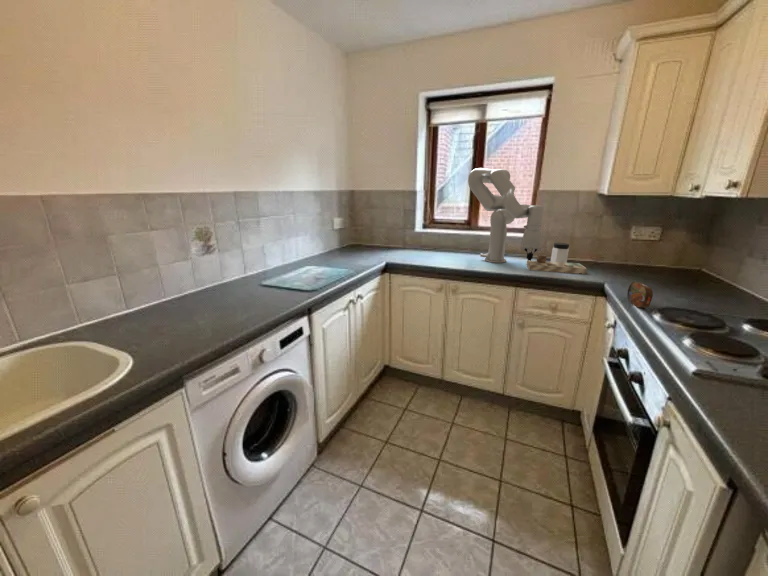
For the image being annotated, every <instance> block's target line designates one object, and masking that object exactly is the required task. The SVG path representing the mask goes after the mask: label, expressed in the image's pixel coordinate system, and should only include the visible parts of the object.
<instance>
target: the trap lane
mask: <svg viewBox="0 0 768 576" xmlns="http://www.w3.org/2000/svg"><path fill="white" fill-rule="evenodd" d="M525 263H526V264H525V265H527V266H526V267H527V268H528V270H529V271H533V270H537V271H538V272H549V271H551V273H564V272H565V273H567V274H568V273H569V274H579V273H582V275H585V274H586V273H587V270H588V269H587V267H586V266H584V265H583V264H581V263H579V262H578V263H577V262H567V263H565V262H550V261H546V262H545V263H538V262H537V260H532V259H531V260H526V262H525ZM537 271H536V272H537ZM586 275H587V274H586Z"/></svg>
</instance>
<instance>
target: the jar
mask: <svg viewBox="0 0 768 576" xmlns="http://www.w3.org/2000/svg"><path fill="white" fill-rule="evenodd" d="M569 247H570V244H569V243H566V242H554V243H553V247H552V251H551V254H550V255H551V256H550V261H549V262H565V263H568V257H569V251H570V248H569Z"/></svg>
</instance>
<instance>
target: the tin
mask: <svg viewBox="0 0 768 576" xmlns="http://www.w3.org/2000/svg"><path fill="white" fill-rule="evenodd" d="M626 295H627V296H626V297H627V300H628V302H629V303H630V304H632V305H634V307H636V308H640V309H647V308H648V307H649V306H650V305H651V303H652V299H653V297H654V292H653V289H652V287H650V286H648V285H646V284H644V283H642V282H639V281H632V282H631V283H630V284H629V287H628V290H627V294H626Z"/></svg>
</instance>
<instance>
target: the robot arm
mask: <svg viewBox="0 0 768 576" xmlns="http://www.w3.org/2000/svg"><path fill="white" fill-rule="evenodd" d="M467 183H468V187H469V189H470V190H471V192H472V193H473V196H475V197H476V199H477V200H478V202H479V203H480V204H481V206H482V207H483V209H484V210H485V211H487V212H492V213H491V215H490V220H489V221H490V230H489V231H490V232H489V243H488V244H489V245H488V252H487V253H480V255H479V256H480V257H481V258H484V261H485V262H488V263H489V262H490V263H493V264H495V263H497V264H503V263H506V262H507V259H506V258H505V251H506V243H507V235H508V234H507V233H508V227H507V225H509V224H511V223H513V222H514V221H515V219H525V218H527V219H526V221H527V222H526V224H525V225H523V229H525V230H524V231H523V235H522V240H521V246H520V249H521V250H522V251H525V252H526V259H527V260H531V261H532V260H533V257H534V254H535V253H536V252H537V251H541V250H542V245H543V230H542V223H543V216H544V210H545V209H544V206H543V205H539V204H537V205H536V204H534V205H531V204H524V203H523V204H520V203H519V201H518V200H517V198H516V196H515V191H516V186H515V185H514V184H513V183H512V181H511V173H510V171H508V170H507V169H505V168H504V169H503V168H496V169H493V168H483V167H478V168H474V169H473V170H471V171H470V173H469V175H468V178H467ZM486 184H492V185H493V187H494V188H495V189H496V190H497V192H498V193H499V195H497V194H493V192H491V190H490V189H489V188H488V185H487V186H486ZM530 249H531V250H530ZM527 260H526V261H527Z"/></svg>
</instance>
